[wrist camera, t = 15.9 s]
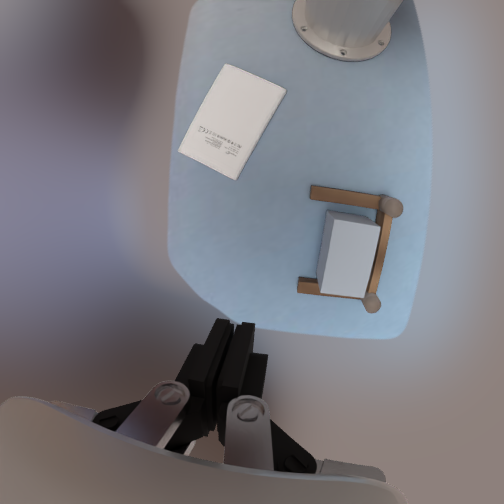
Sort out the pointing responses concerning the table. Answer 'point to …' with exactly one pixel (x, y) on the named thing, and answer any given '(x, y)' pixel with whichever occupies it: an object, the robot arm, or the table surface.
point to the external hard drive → (231, 120)
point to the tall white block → (346, 254)
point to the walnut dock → (385, 213)
